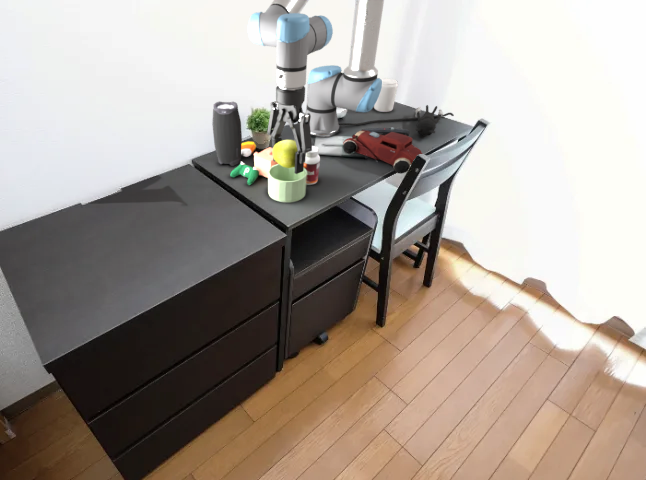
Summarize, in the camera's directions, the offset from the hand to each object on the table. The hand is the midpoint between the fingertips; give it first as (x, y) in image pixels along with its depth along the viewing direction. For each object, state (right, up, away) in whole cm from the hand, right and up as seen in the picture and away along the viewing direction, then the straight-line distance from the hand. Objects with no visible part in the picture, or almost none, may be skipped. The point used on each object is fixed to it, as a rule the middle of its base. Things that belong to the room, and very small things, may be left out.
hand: (287, 165), depth 112 cm
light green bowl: (0, -7, +6) cm, 9 cm away
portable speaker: (-19, +7, +22) cm, 30 cm away
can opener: (+39, +17, +32) cm, 53 cm away
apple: (0, 0, 0) cm, 0 cm away
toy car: (+35, +7, +20) cm, 41 cm away
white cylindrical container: (+47, +38, +56) cm, 83 cm away
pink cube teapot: (-5, +1, +15) cm, 16 cm away
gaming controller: (-13, -1, +13) cm, 18 cm away
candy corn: (-12, +15, +28) cm, 34 cm away
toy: (+65, +38, +51) cm, 91 cm away
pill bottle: (+8, -2, +11) cm, 14 cm away
